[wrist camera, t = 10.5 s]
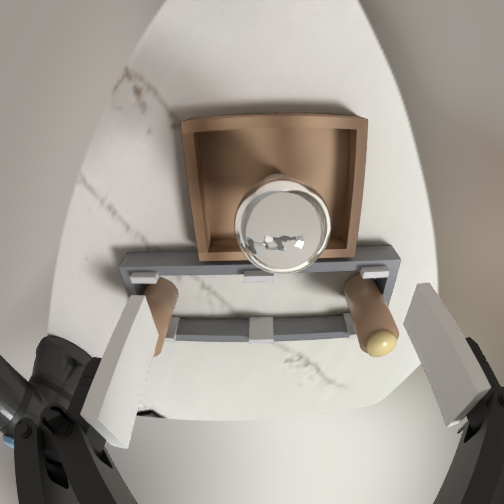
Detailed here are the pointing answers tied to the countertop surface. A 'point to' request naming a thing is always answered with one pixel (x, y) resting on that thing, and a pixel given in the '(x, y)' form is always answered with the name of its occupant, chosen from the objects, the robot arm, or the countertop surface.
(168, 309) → the cylinder
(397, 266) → the holder
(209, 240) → the tray
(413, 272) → the countertop surface
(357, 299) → the cylinder
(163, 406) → the countertop surface
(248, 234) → the light bulb
